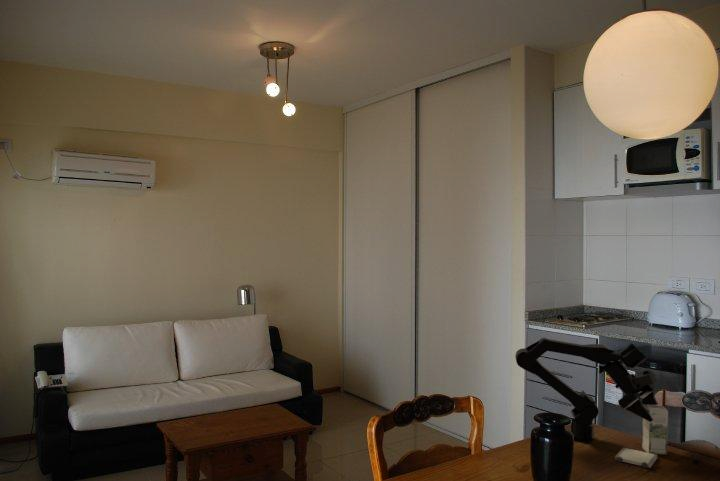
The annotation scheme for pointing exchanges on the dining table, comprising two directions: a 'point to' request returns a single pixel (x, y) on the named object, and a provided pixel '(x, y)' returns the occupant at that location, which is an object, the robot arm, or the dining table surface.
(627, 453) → the dolly
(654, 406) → the syrup box
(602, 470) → the dining table surface
